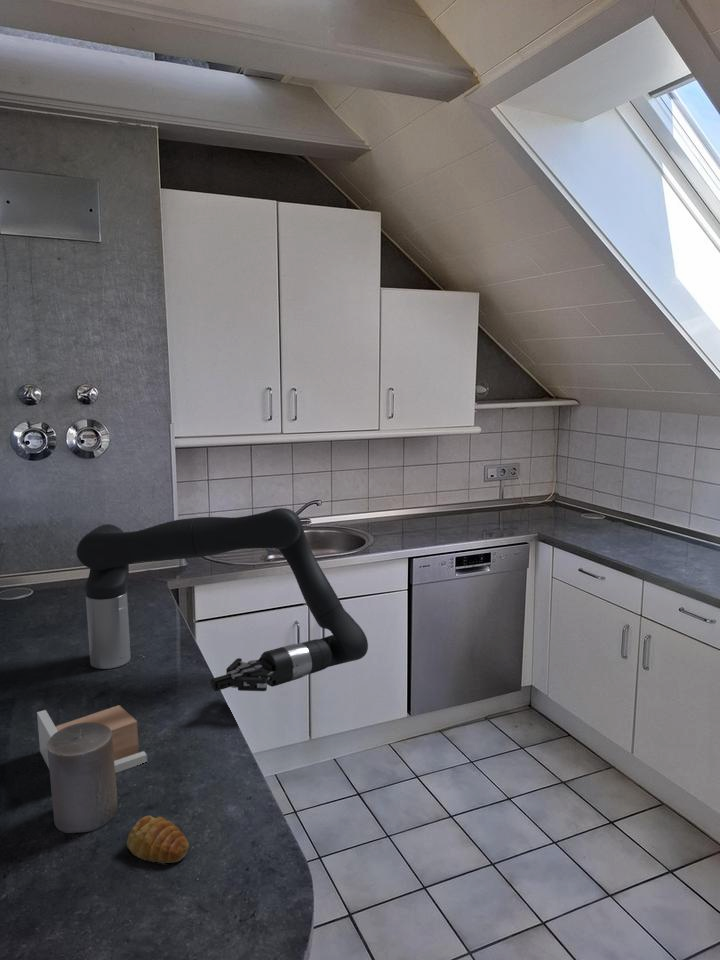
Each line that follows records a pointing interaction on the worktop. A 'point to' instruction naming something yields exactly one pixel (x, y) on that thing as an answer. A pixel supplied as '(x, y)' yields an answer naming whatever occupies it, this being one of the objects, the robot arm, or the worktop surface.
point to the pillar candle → (82, 777)
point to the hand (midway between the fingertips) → (212, 685)
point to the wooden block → (115, 729)
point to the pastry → (157, 840)
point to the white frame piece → (49, 729)
